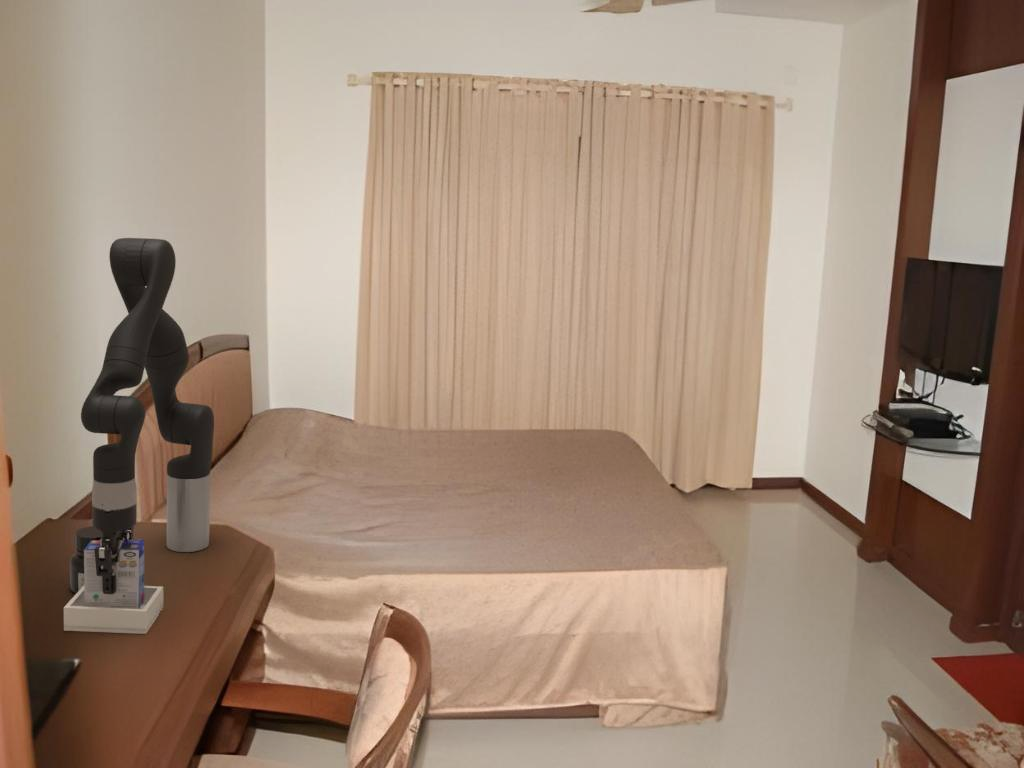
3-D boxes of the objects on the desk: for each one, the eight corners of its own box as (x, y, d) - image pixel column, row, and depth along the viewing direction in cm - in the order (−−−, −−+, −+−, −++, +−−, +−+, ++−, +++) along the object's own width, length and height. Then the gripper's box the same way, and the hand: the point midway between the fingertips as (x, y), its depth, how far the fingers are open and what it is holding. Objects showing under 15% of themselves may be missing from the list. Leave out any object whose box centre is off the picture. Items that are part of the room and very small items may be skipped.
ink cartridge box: (145, 597, 177) (145, 527, 174) (140, 610, 172) (140, 538, 168) (90, 598, 175) (89, 527, 172) (83, 611, 169) (82, 538, 166)
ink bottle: (82, 602, 179) (81, 544, 177) (59, 587, 184) (58, 531, 182) (129, 587, 187) (128, 532, 184) (106, 574, 192) (105, 520, 189)
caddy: (86, 604, 178) (85, 583, 177) (163, 608, 179) (163, 586, 178) (63, 630, 168) (63, 607, 167) (145, 633, 169) (145, 611, 168)
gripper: (107, 487, 175) (108, 569, 179) (78, 513, 161) (79, 602, 165) (147, 489, 176) (147, 571, 180) (122, 515, 162) (122, 604, 166)
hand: (115, 585), depth 172 cm, fingers closed on ink cartridge box, 5 cm apart
